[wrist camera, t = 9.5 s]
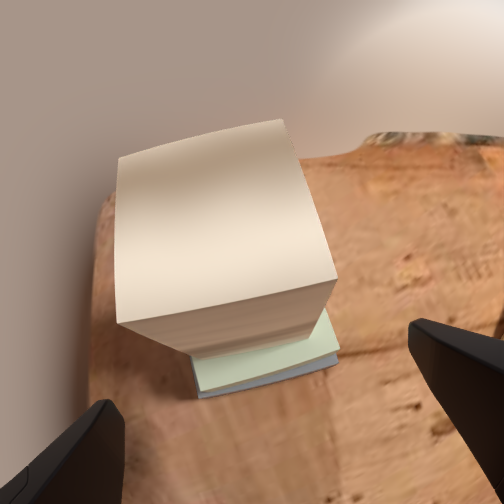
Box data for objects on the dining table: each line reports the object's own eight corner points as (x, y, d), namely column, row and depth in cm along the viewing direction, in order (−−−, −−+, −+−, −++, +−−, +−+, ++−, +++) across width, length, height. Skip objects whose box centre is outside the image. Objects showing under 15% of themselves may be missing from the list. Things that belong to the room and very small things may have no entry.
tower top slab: (333, 354, 19) (340, 348, 17) (210, 392, 19) (200, 391, 16) (292, 245, 22) (293, 227, 20) (183, 279, 22) (171, 265, 20)
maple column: (308, 338, 17) (338, 278, 8) (202, 360, 17) (116, 323, 8) (284, 242, 20) (282, 118, 11) (188, 263, 20) (118, 157, 11)
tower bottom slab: (333, 366, 21) (338, 362, 19) (207, 398, 21) (198, 398, 18) (297, 254, 25) (298, 238, 23) (185, 283, 25) (175, 271, 23)
